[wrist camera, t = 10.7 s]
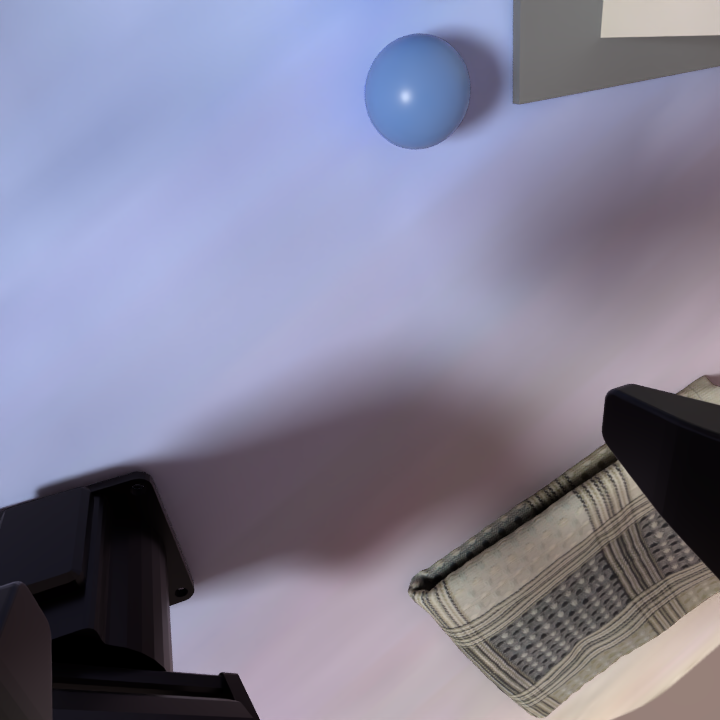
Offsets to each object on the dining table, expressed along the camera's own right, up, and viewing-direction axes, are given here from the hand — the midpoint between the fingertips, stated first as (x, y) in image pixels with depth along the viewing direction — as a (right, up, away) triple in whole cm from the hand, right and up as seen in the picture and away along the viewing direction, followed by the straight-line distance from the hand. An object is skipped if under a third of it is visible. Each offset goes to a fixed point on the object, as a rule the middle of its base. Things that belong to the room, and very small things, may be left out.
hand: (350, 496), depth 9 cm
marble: (+1, +10, +9) cm, 14 cm away
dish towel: (+14, -9, +25) cm, 30 cm away
